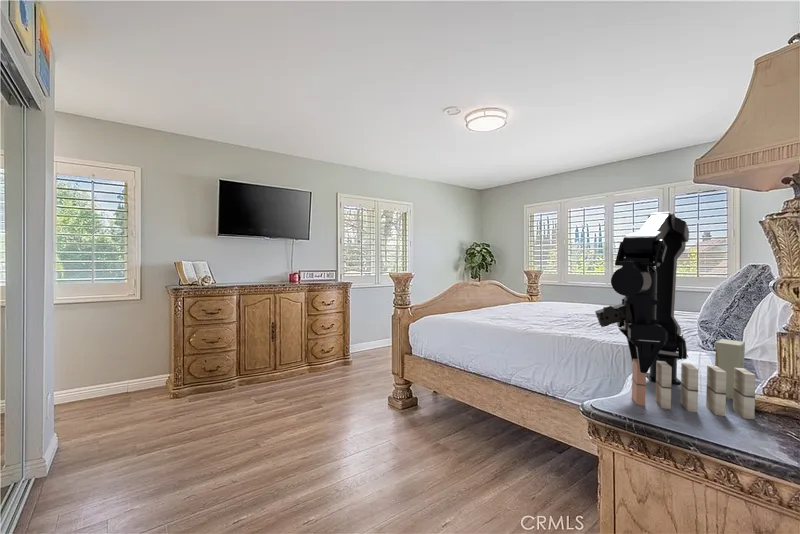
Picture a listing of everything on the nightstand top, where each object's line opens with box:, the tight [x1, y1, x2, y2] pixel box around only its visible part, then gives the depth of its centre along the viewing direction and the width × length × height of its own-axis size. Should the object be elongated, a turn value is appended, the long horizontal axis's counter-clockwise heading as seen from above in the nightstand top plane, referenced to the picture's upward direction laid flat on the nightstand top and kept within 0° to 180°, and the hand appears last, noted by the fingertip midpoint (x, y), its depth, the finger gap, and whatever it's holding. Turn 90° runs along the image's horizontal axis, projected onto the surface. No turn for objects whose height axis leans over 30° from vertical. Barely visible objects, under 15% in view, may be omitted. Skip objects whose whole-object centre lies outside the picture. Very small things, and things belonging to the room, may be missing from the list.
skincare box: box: [714, 338, 746, 400], centre depth 90 cm, size 6×4×12 cm
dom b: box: [655, 361, 672, 410], centre depth 84 cm, size 5×2×8 cm, turn 159°
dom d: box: [705, 364, 727, 417], centre depth 80 cm, size 5×2×8 cm, turn 159°
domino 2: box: [680, 362, 699, 413], centre depth 82 cm, size 5×2×8 cm, turn 159°
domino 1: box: [631, 359, 647, 406], centre depth 85 cm, size 5×2×8 cm, turn 159°
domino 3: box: [732, 367, 757, 420], centre depth 79 cm, size 5×2×8 cm, turn 159°
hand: (638, 367), depth 85 cm, fingers open, 9 cm apart
